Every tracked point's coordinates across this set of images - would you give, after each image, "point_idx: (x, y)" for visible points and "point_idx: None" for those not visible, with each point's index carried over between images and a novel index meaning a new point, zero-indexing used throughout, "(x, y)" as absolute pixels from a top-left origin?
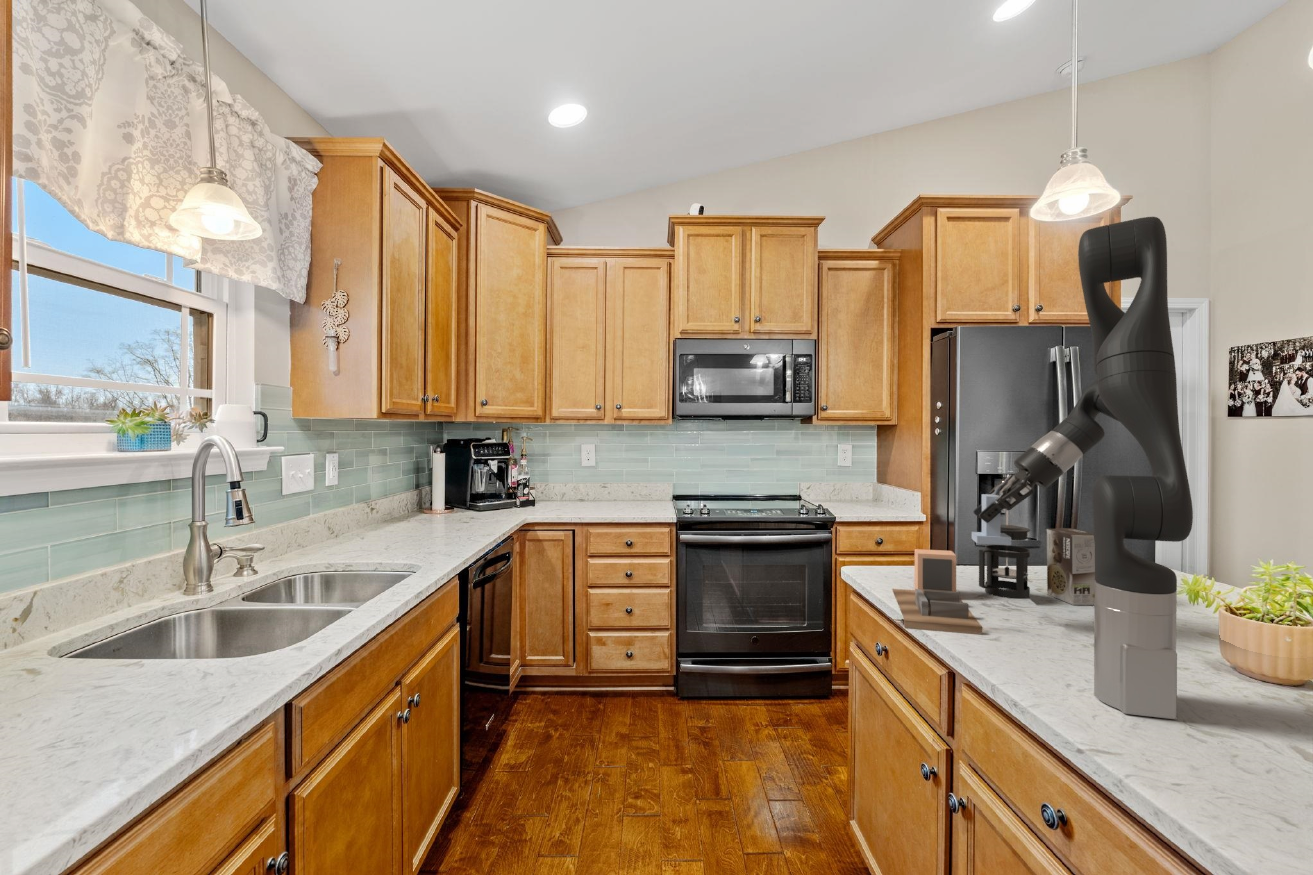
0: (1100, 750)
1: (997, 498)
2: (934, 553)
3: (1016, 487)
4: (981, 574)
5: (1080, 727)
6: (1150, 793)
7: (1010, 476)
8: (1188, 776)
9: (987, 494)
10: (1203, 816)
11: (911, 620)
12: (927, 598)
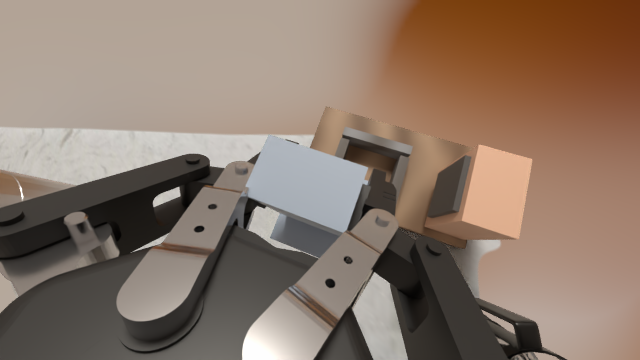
0: (68, 136)
1: (240, 175)
2: (480, 180)
3: (74, 200)
4: (483, 303)
5: (95, 145)
6: (26, 130)
7: (245, 345)
8: (28, 168)
9: (352, 191)
10: (2, 141)
11: (325, 114)
12: (396, 163)
